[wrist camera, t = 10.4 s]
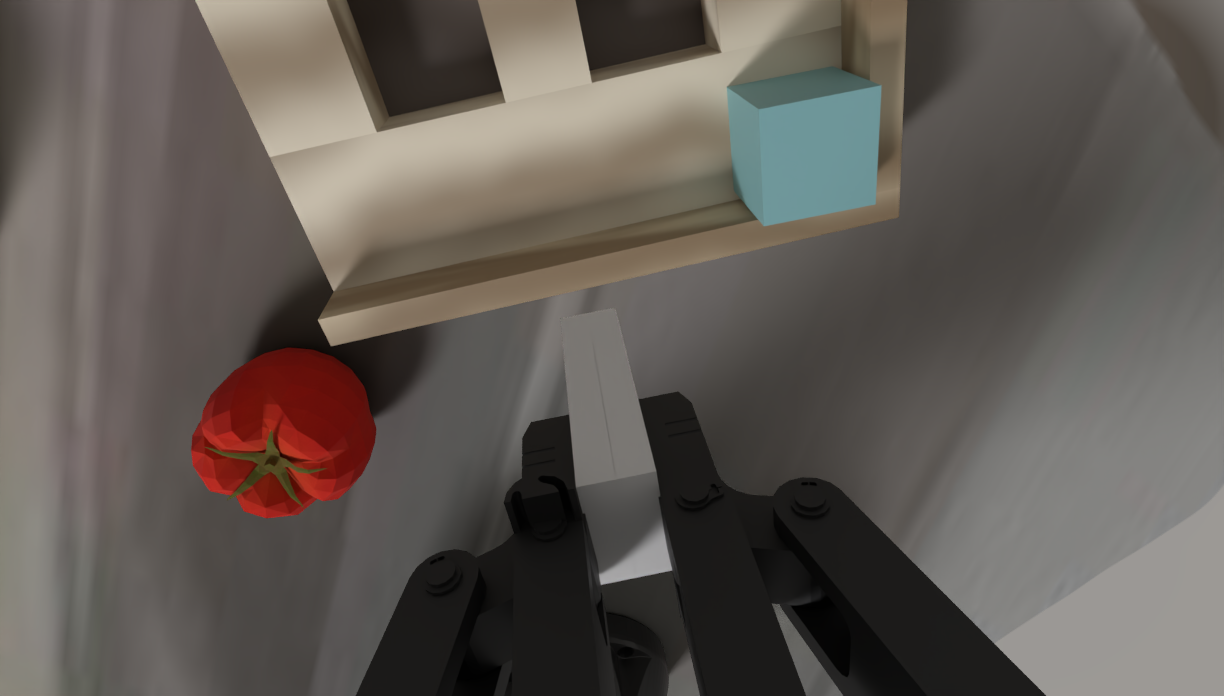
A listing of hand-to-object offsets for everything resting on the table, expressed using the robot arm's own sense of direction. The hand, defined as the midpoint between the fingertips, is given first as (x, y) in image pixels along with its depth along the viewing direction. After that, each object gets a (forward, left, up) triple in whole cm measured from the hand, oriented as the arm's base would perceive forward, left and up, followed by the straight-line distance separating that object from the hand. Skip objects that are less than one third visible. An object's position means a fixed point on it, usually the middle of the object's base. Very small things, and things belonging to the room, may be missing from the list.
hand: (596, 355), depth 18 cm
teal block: (0, -11, -16) cm, 19 cm away
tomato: (-10, +19, -20) cm, 29 cm away
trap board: (+4, -1, -20) cm, 20 cm away
